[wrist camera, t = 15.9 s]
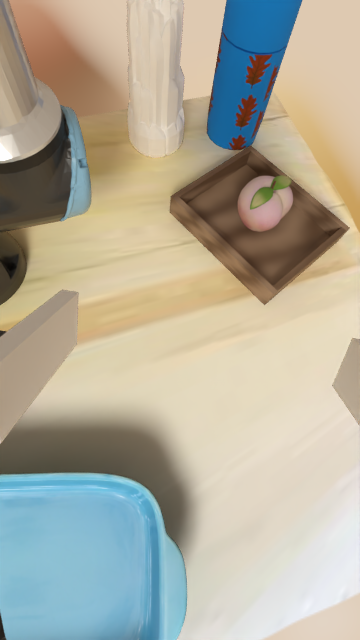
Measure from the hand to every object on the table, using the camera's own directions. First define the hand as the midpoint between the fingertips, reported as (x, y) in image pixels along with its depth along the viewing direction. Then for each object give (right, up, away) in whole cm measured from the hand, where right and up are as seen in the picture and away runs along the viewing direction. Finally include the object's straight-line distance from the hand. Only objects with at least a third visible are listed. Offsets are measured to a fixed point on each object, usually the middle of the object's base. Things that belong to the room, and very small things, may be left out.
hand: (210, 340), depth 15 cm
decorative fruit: (+12, +18, +41) cm, 47 cm away
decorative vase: (-6, +38, +49) cm, 62 cm away
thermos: (+9, +41, +51) cm, 66 cm away
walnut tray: (+12, +18, +42) cm, 47 cm away
